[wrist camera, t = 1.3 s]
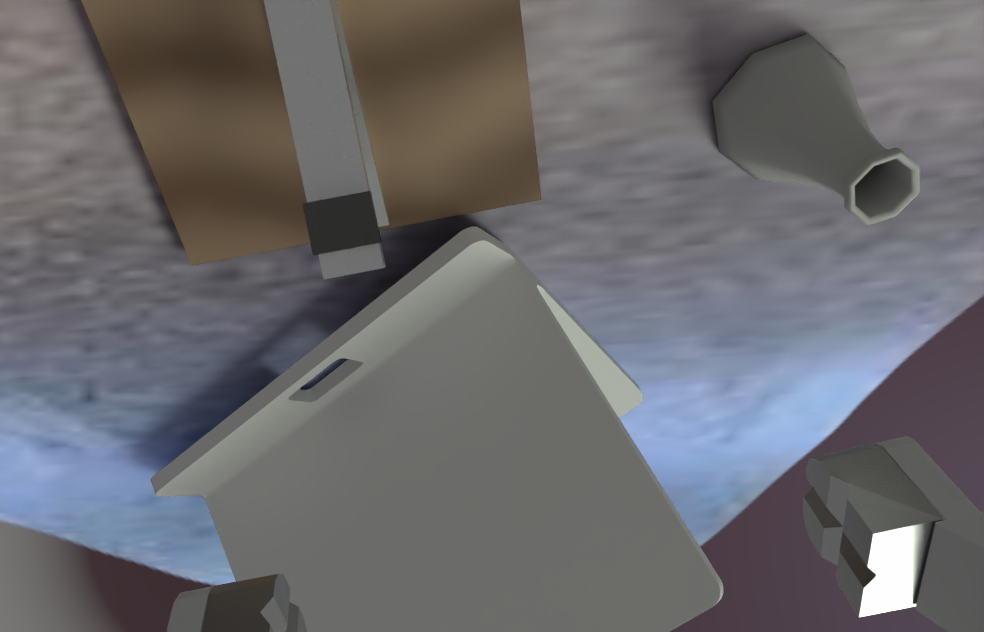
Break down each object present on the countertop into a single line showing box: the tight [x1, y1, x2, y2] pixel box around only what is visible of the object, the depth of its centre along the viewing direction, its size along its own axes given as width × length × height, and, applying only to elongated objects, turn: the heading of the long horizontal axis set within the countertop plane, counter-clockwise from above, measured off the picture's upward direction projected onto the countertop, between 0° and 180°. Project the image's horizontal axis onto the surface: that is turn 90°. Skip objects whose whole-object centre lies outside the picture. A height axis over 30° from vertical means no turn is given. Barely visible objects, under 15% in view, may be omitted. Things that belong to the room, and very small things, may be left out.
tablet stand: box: [151, 227, 723, 632], centre depth 42 cm, size 18×25×17 cm
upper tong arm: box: [264, 0, 386, 279], centre depth 30 cm, size 16×4×2 cm, turn 7°
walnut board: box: [81, 0, 541, 266], centre depth 35 cm, size 18×18×1 cm
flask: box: [712, 34, 920, 226], centre depth 37 cm, size 7×7×10 cm
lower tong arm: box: [331, 0, 389, 227], centre depth 34 cm, size 16×6×3 cm, turn 8°
